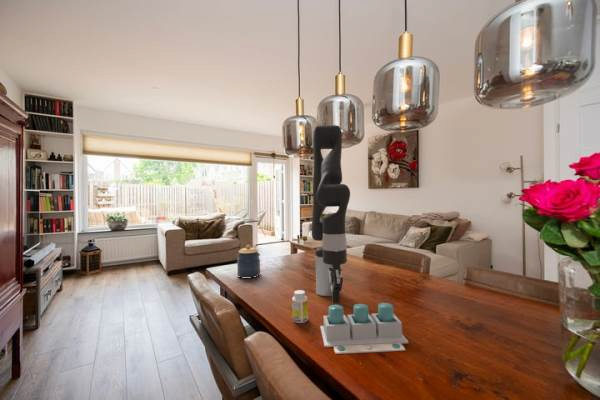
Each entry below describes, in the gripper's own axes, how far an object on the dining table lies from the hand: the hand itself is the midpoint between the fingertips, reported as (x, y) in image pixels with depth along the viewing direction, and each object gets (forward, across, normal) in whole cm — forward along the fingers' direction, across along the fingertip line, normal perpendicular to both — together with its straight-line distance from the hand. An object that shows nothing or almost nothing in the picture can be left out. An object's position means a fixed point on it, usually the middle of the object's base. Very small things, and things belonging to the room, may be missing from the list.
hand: (335, 302), depth 85 cm
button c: (+8, 0, +16) cm, 18 cm away
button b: (+8, 0, +8) cm, 11 cm away
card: (+11, +8, +8) cm, 16 cm away
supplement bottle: (+11, -12, -11) cm, 20 cm away
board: (+11, 0, +8) cm, 13 cm away
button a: (+8, 0, 0) cm, 8 cm away
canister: (+10, -70, -38) cm, 81 cm away
